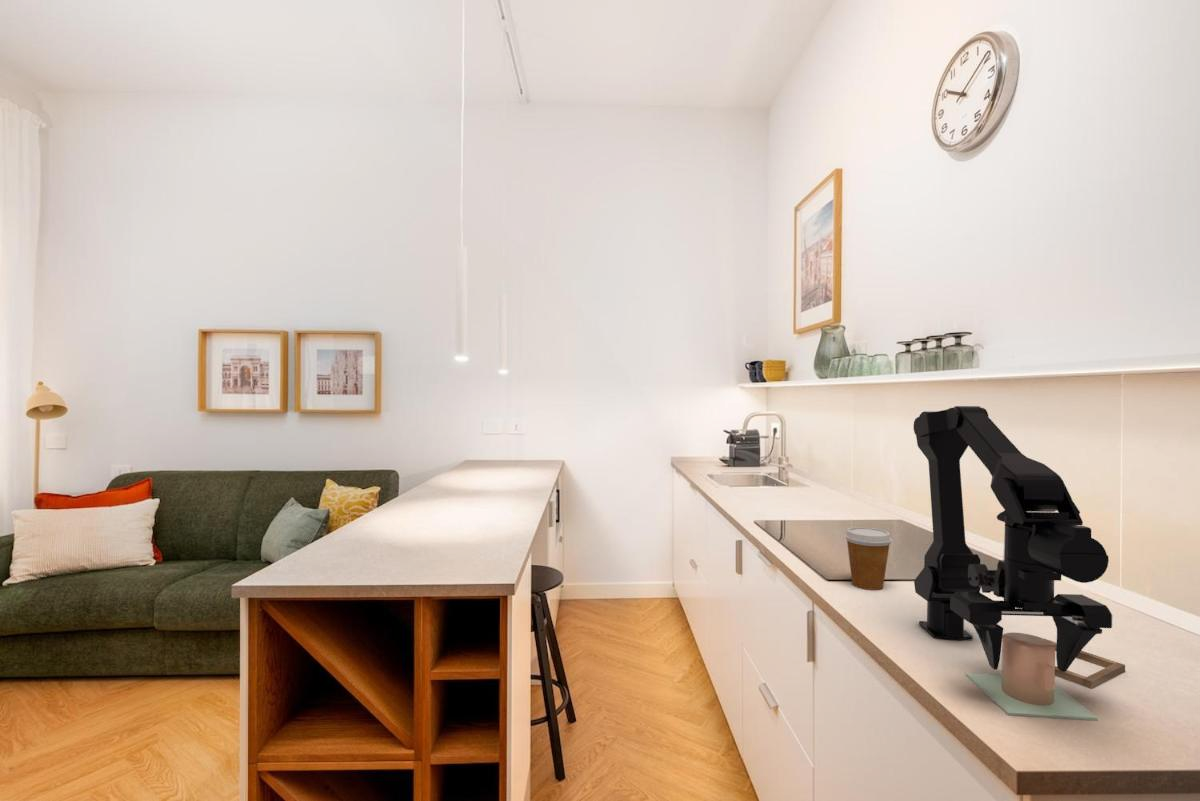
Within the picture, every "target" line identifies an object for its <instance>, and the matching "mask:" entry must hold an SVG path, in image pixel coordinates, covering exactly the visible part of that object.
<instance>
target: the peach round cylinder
mask: <svg viewBox="0 0 1200 801" xmlns="http://www.w3.org/2000/svg"><path fill="white" fill-rule="evenodd" d="M1043 638H1044V637H1041V636H1040V637H1039V636H1036V635H1033V634H1028V633H1024V632H1023V633H1022V632H1006V633H1003V636H1002V644H1001V675H1002V690H1003V691H1004V692H1005V693H1006V694H1007V695H1009V696H1010V697H1012V698H1014V699H1017V700H1019V701H1022V702H1025V703H1029V704H1034V705H1051V704H1053V703H1054V687H1055V686H1056V685H1055V683H1056V681H1055V678H1056V675H1055V666H1056V650H1055V645H1054V644H1053V643H1051V642H1050V641H1051V640H1050V641H1048V640H1049V639H1047V638H1044V639H1043ZM1046 639H1047V640H1046Z"/></svg>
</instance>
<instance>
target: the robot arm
mask: <svg viewBox="0 0 1200 801" xmlns="http://www.w3.org/2000/svg"><path fill="white" fill-rule="evenodd" d="M913 431H914V434H915V438H916V444H917V447H918V448H919V450H920V451H921V453H922V454H923V455H924V456H925V458H926V459H927V462H928V474H929V490H930V505H931V506H930V507H931V508H930V509H931V518H932V519H931V520H932V521H931V522H932V534H933V535H932V537H933V538H932V539H933V542H932V543H931V544H930V546H929V548H928V549H927V551H926V553H925V555H924V557H923V558H924V559H923V560H924V561H923V562H924V564H923V568H922V570H921V571H920V572H919V574H918V575H917V576H916V577H915V579H914V580H913V583H914V584H913V585H914V591H915V594H917V596H920V597H921V598H922V599H923V600H925V601H926V620H925V621H923V620H920V621H919V622H918V624H919V626H921V627H922V628H923V630H925V631H926V632H927V633H928V634H930V636H932V637H933V638H936V639H949V640H950V639H953V640H954V639H955V640H973V639H974V636H973V635H972V634H971V633H969V632H968V631H967V630H965V621H966V622H968V624H969V623H970V624H971V626H973V628H974V631H975V632H976V634H977V636H978V639H979V640H980V643H981V645H982V648H983V651H984V653H985V657H986V659H987V661H988V665H989V668H991V669H993V670H995V671H996V670H998V668H999V664H1000V661H1001V654H1002V637H1003V634H1004V627H1002V626H1001V625H1000V624H999V623H1000V622H1001V621H1002V618H1003V616H1024V617H1025V616H1028V617H1033V616H1034V617H1051V618H1052V619H1053V622H1054V625H1055V627H1056V643H1057V649H1056V650H1055V660H1056V666H1057V667H1058V669H1059V670H1061V671H1062V672H1066V670H1068V669H1069V668H1070V666H1071V665H1072V664H1073V663H1074V661H1075V659H1077V655H1078V654H1079V653H1080V651H1083V649H1084V648H1085V647H1086V646H1087V645H1088V643H1089V642H1090V641H1091V640H1092V639H1093V638H1094V637H1095V636H1096V635H1101V634H1102V633H1103V629H1112V628H1113V614H1112V612H1111V610H1110V609H1109V608H1108V606H1107V605H1106V604H1103V603H1101V602H1099V601H1098V600H1095V599H1093V598H1091V597H1088V596H1087V595H1086V596H1085V595H1083V594H1078V593H1077V594H1066V593H1057V594H1056V595H1055V581H1062V577H1065V578H1067V579H1069V580H1072V581H1075V582H1077V583H1083V584H1087V583H1088V584H1089V583H1093V582H1094V581H1096V580H1098V579H1100V578H1101V577H1102V576H1103V575H1104V574H1105V573H1106V571H1107V568H1108V567H1109V559H1110V558H1109V555H1108V554H1107V552H1106V549H1105V547H1104V546H1103V545H1102V544H1101V543H1100V542H1099V540H1097V539H1095V538H1093V537H1092V528H1091V527H1089V526H1085V525H1083V524H1084V523H1083V522H1084V521H1083V519H1082V518H1081V515H1080V513H1081V511H1080V510H1079V508H1078V507H1077V505H1076V504H1075V502H1074V501H1073V498H1072V497H1071V494H1070V492H1069V490H1068V488H1067V487H1066V484H1065V482H1064V480H1063V479H1062V477H1061V475H1059V474H1058V473H1057V472H1055V471H1054V470H1053V469H1051V468H1050V467H1049V466H1047V465H1046V464H1045V463H1042V462H1040V461H1037V460H1035V459H1032V458H1029V457H1027V456H1025V455H1024V453H1022V451H1020V450H1019V449H1018V448H1017V446H1016V445H1015V444H1014V443H1013V442H1012V441H1011V440H1010V439H1009V438H1008V437H1007V435H1006V434H1004V432H1003V431H1002V430H1001V429H1000V428H999V427H998V426H997V425H996V423H994V421H993V420H992V419H991V418H990V417H989V413H988V410H987V409H986V408H984V407H981V406H979V405H975V406H974V405H971V406H970V405H969V406H968V405H955V406H954V407H949V408H947V409H944V410H943V409H942V410H939V411H938V410H937V411H925V410H924V411H923V412H921V413H920V414H919V416H918V417H916V418H915V419H914V421H913ZM968 448H970V449H971V451H972V452H973V453H974V454H975V456H976V457H977V458H978V459H979V460H980V461H981V463H982V464H983V465H984V467H985V468H986V470H988V471H989V474H990V476H991V482H990V488H991V491H992V492H993V494H994V496H995V497H996V500H997V501H998V503H999V504H1000V505H1001V507H1002V508H1003V511H1002V512H999V514H997V515H996V520H997V521H1001V522H1003V523H1004V535H1005V548H1004V547H1003V550H1004V560H1003V559H1002V560H999V559H998V562H997V564H996V565H997V566H996V569H988V566H987V565H986V564H983V563H981V558H980V557H979V554H976V553H973V551H972V550H971V548H970V547H969V546H968V545H967V542H966V541H967V540H966V531H965V530H966V529H965V517H964V506H963V505H964V504H963V489H962V488H963V486H962V474H961V458H962V457H963V455H964V454H965V452H966V451H967V449H968ZM1056 511H1057V512H1056ZM983 593H986V594H990V593H992V594H993V595H994V596H996V597H997V598H1002V599H1003V600H994V599H991V598H990V597H988V596H986V595H984V594H983Z"/></svg>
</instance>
